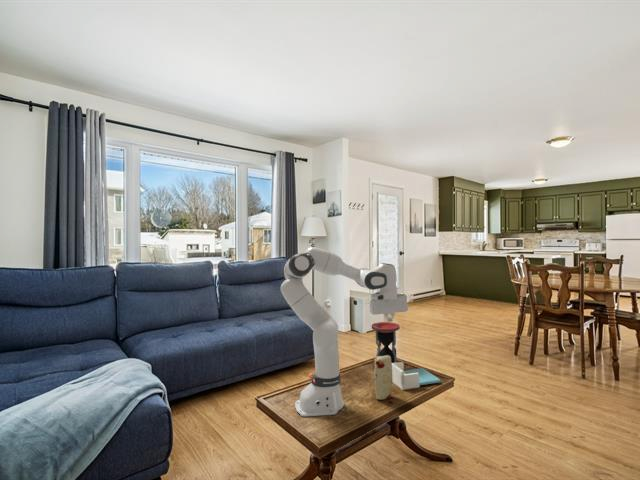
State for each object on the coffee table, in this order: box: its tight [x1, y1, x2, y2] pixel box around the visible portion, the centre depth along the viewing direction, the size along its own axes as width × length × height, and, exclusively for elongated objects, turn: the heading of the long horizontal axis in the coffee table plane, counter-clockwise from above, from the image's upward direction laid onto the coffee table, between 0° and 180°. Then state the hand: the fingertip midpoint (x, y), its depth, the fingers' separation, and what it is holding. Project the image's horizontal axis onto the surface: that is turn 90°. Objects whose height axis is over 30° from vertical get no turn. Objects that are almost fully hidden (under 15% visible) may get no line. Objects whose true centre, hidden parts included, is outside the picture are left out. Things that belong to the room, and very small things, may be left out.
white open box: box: [392, 361, 420, 391], centre depth 174 cm, size 10×17×9 cm, turn 15°
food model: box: [373, 355, 393, 400], centre depth 157 cm, size 10×7×20 cm
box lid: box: [404, 367, 441, 386], centre depth 177 cm, size 2×17×12 cm
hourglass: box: [371, 321, 400, 370], centre depth 194 cm, size 16×16×25 cm
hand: (389, 321), depth 169 cm, fingers closed
